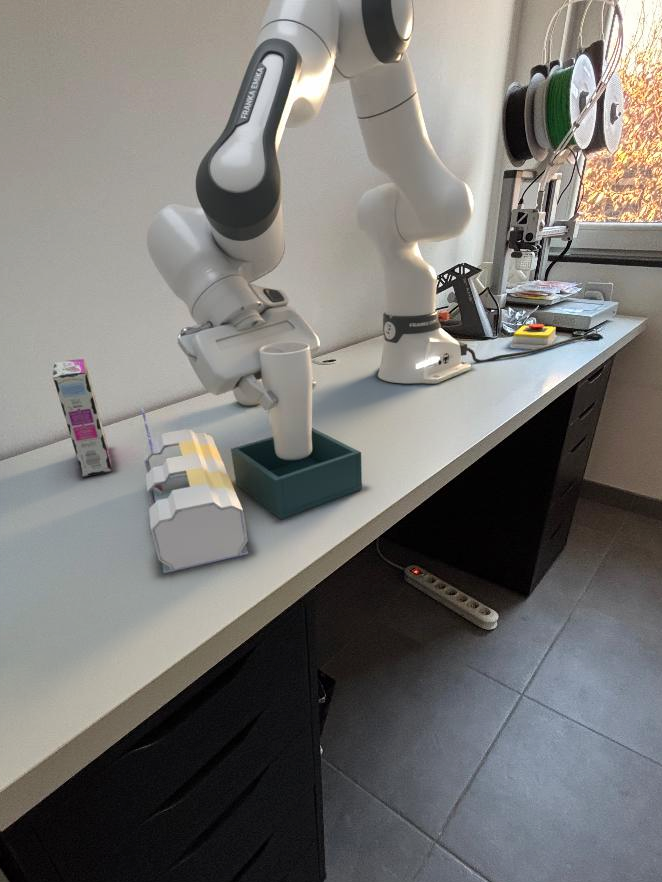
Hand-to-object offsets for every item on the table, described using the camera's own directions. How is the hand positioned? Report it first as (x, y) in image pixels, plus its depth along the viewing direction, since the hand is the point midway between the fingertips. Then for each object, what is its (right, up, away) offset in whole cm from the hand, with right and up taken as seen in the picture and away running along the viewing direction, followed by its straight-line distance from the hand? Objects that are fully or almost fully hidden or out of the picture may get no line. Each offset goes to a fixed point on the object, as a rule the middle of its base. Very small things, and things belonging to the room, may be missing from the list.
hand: (292, 397), depth 71 cm
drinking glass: (0, -7, +5) cm, 9 cm away
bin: (0, -12, +7) cm, 14 cm away
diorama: (-14, -16, +2) cm, 21 cm away
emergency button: (+62, +31, +74) cm, 101 cm away
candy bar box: (-34, -7, +19) cm, 40 cm away
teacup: (-10, +9, +44) cm, 46 cm away
